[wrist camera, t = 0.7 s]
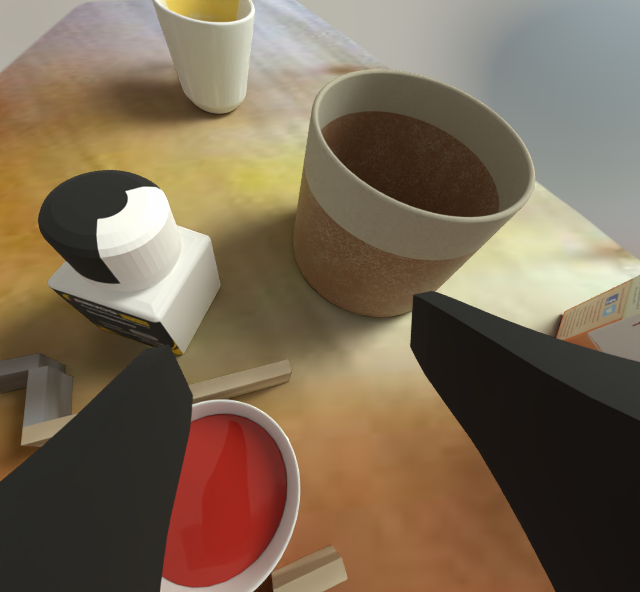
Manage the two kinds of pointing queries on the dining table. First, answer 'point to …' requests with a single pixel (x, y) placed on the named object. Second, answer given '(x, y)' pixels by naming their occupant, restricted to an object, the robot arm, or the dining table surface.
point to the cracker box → (607, 322)
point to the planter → (401, 188)
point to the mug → (209, 48)
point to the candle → (231, 501)
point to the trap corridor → (56, 402)
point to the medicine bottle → (129, 258)
